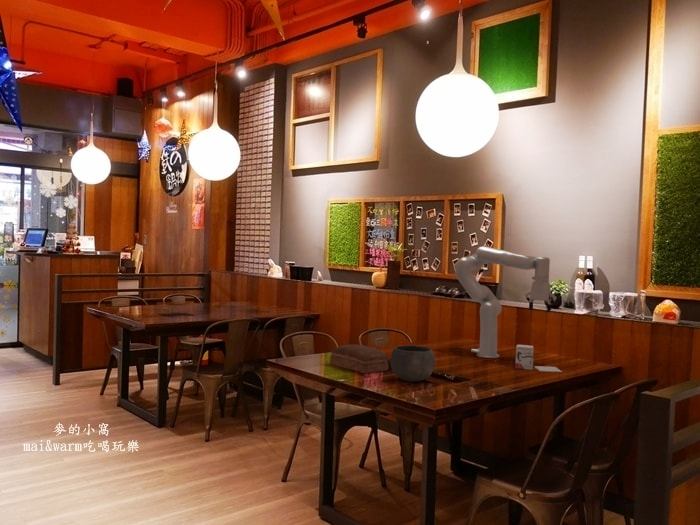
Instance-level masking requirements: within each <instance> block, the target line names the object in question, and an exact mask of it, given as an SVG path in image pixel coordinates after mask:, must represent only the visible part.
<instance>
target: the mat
mask: <svg viewBox="0 0 700 525" xmlns="http://www.w3.org/2000/svg"><path fill="white" fill-rule="evenodd" d="M533 367H534V368H535V369H536V370H537V371H539V372H546V373H547V372H552V373H553V372H554V373H563V371H562V370H560V369H559V368H558V367H557V366H542V365H541V366H539V365H537V366H536V365H533Z"/></svg>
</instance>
